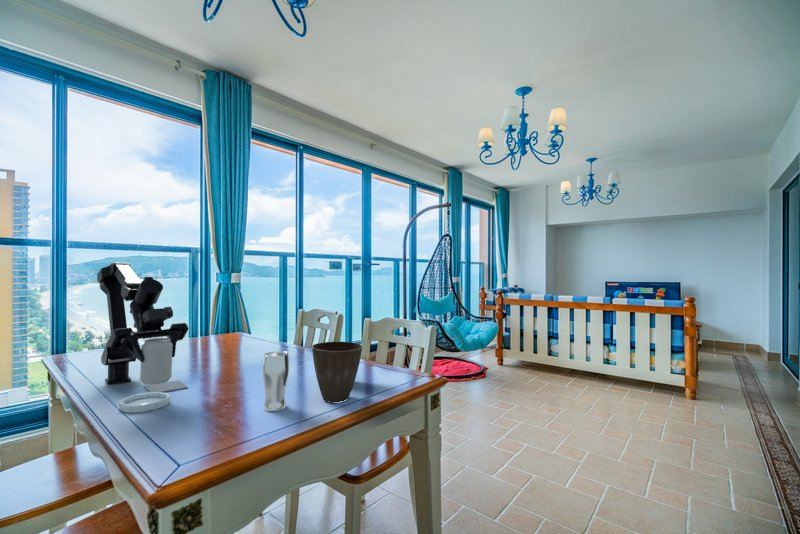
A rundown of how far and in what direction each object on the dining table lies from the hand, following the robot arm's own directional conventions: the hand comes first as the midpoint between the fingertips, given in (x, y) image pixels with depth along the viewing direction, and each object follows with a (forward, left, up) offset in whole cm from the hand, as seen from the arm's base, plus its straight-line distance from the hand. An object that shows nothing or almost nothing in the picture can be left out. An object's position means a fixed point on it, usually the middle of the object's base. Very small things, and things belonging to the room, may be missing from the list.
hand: (158, 358), depth 106 cm
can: (-1, 0, -7) cm, 7 cm away
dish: (-1, -3, -13) cm, 13 cm away
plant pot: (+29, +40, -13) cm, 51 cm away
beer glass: (+24, +23, -13) cm, 36 cm away
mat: (-15, +5, -13) cm, 21 cm away
